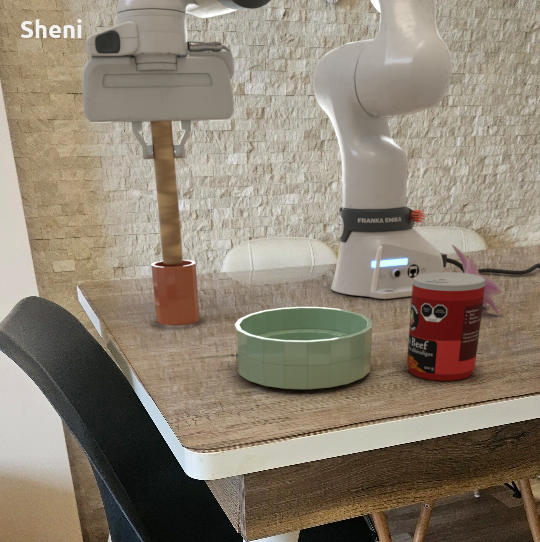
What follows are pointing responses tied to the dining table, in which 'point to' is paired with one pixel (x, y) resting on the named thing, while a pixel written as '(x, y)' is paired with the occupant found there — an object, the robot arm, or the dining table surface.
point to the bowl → (303, 347)
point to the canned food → (444, 325)
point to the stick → (167, 191)
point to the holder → (175, 293)
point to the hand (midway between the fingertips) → (164, 158)
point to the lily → (490, 285)
